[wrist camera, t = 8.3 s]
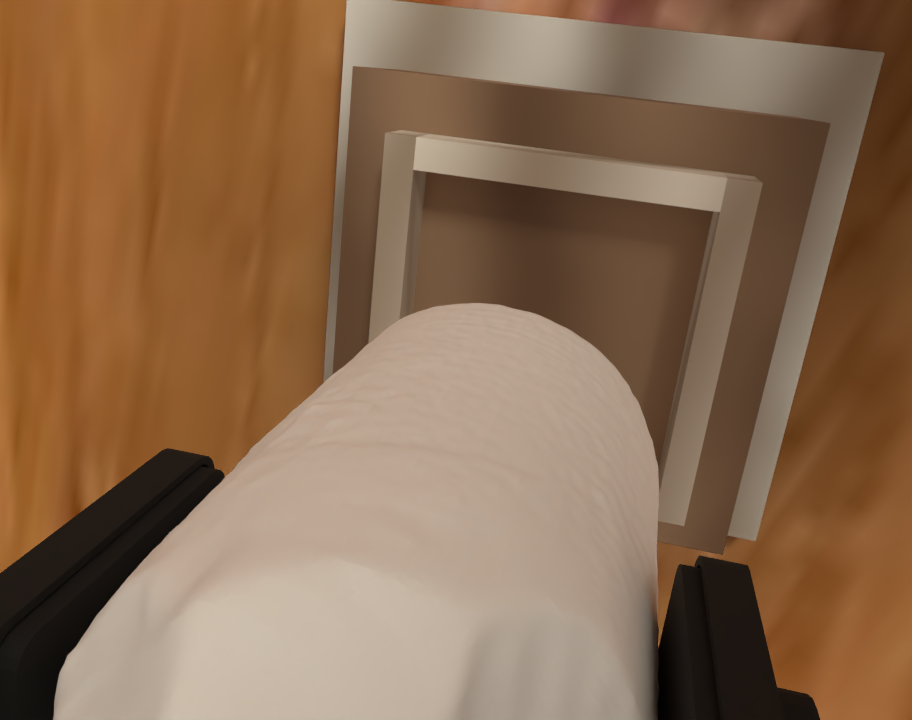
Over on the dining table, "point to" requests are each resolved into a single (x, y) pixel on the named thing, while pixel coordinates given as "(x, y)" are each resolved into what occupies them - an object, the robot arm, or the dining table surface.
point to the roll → (408, 549)
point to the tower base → (606, 213)
